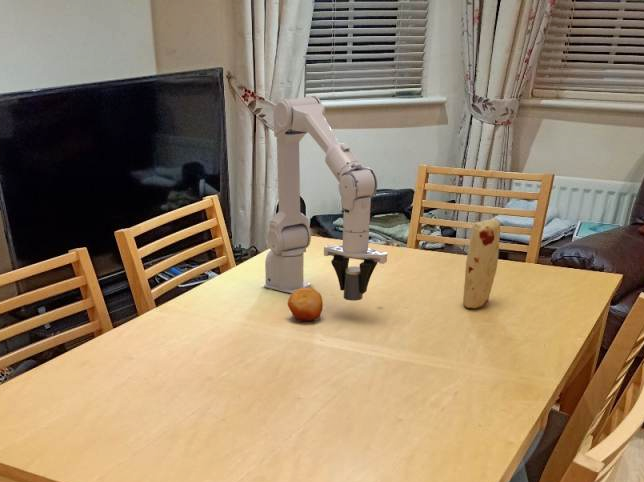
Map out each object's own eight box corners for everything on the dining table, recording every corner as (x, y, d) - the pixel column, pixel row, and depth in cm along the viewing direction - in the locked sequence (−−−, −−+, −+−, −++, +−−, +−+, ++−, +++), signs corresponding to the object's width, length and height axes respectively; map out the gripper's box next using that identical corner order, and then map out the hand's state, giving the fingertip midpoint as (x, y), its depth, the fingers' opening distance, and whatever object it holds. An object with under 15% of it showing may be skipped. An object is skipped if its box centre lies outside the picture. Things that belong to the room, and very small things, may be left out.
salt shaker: (347, 301, 172) (348, 272, 168) (340, 295, 175) (341, 267, 172) (365, 299, 173) (366, 271, 169) (358, 293, 176) (360, 265, 173)
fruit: (324, 304, 181) (323, 281, 174) (322, 331, 178) (321, 309, 170) (290, 303, 182) (288, 280, 174) (288, 330, 178) (285, 308, 171)
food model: (480, 313, 179) (492, 226, 168) (454, 308, 182) (464, 222, 171) (496, 301, 186) (509, 217, 174) (471, 296, 189) (482, 213, 177)
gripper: (393, 228, 166) (389, 290, 173) (333, 221, 171) (331, 281, 179) (382, 236, 160) (378, 299, 168) (320, 229, 166) (319, 290, 174)
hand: (353, 290), depth 173 cm, fingers closed on salt shaker, 4 cm apart
